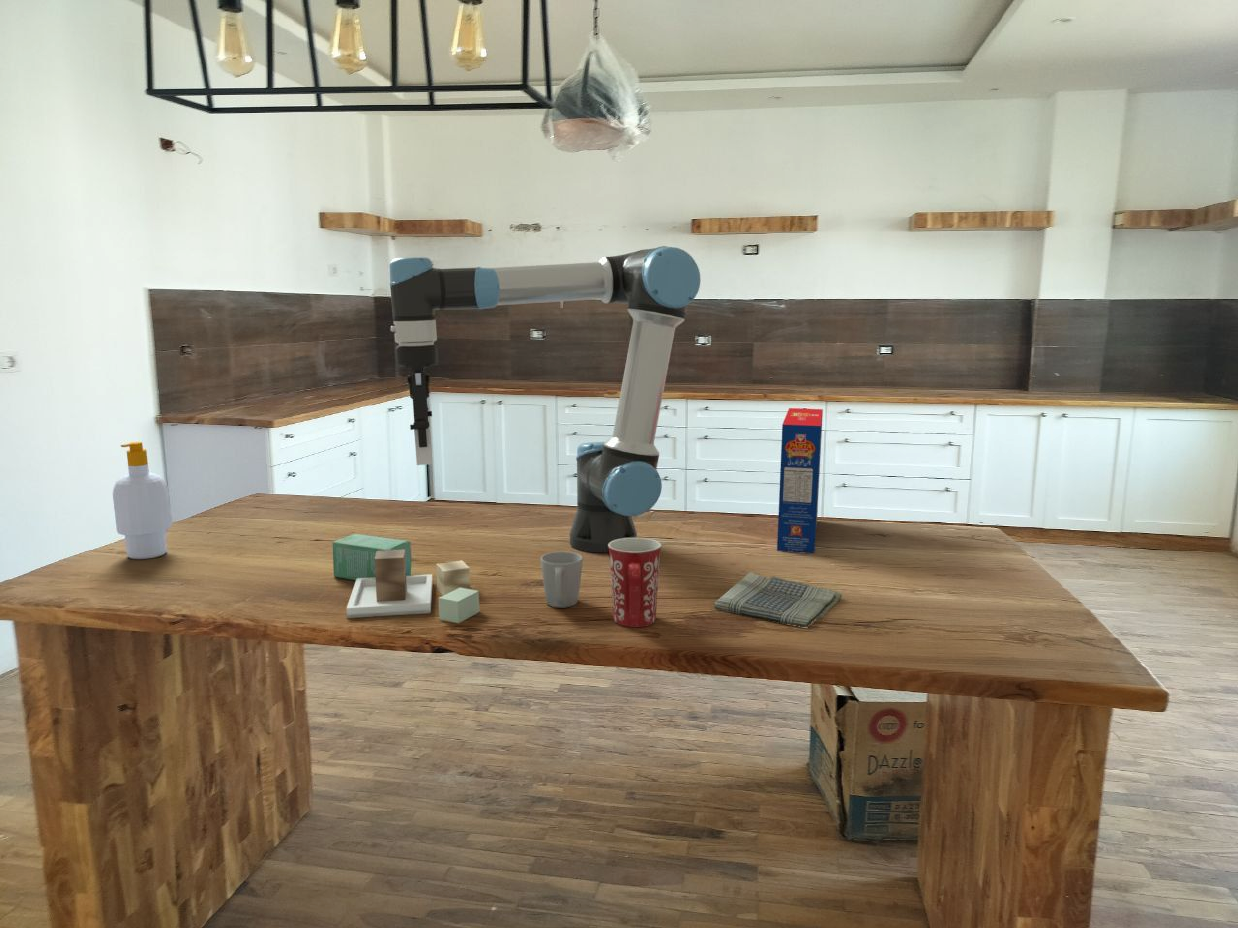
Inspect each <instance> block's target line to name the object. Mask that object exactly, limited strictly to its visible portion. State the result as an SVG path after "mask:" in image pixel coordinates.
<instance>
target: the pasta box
mask: <svg viewBox="0 0 1238 928" xmlns="http://www.w3.org/2000/svg"><path fill="white" fill-rule="evenodd" d="M823 413H824V410H823V409H822V408H797V407H795V408H794V407H793V408H792V407H789V408H788V410H787V412H786V415H785V417H784V419H783V422H782V424H781V425H782V427H781V447H780V450H781V451H780V467H779V468H780V470H779V471H780V472H779V492H778V493H779V494H778V495H779V496H778V518H777V522H778V523H777V539H776V542H777V543H776V544H777V545H776V551H777V552H787V551H793V552H792V553H800V552H805V554H815V553H816V552H815V550H816V537H817V525H818V513H819V510H818V509H819V492H820V491H819V490H820V489H819V488H820V475H821V474H820V473H821V470H820V469H821V455H822V454H821V451H822V436H823V435H822V434H823V433H822V432H823Z"/></svg>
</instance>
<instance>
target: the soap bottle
mask: <svg viewBox="0 0 1238 928" xmlns="http://www.w3.org/2000/svg"><path fill="white" fill-rule="evenodd" d="M120 447H121V448H128V447H129V449H128V450H126V458H127V468H128V474H125V475H123V476H122V477H120V478H118V479H117V481H115V483H114V486H113V489H112V500H113V509H114V510H113V511H114V517H115V526H116V528H115V529H116V532H117V534H118V535H121V536H124V539H125V550H126V551H125V552H126V555H127V557H128V558H130V559H132V560H147V559H153V558H154V559H155V558H157V557H160V556H163V555H165V553H167V552H168V544H167V533H166V532H167V531H168V530H169V529H171V528H172V527H173V525H172V524H173V521H172V512H171V504H170V492H169V487H168V485H167V483H166V482H165V480H164V478H163V477H161V475H159V474H157V473H154V472H150V471H149V463H148V455H147V454H148V453H147V449H145V448H144V447H143V442H142V441H134V442H133V441H132V442H129V443H125V444H120Z"/></svg>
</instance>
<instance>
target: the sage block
mask: <svg viewBox="0 0 1238 928" xmlns="http://www.w3.org/2000/svg"><path fill="white" fill-rule="evenodd" d="M479 592H480V591H479V590H476V589H471V588H470V589H466V588H458V589H456V590H454V591H452V592H450V593H448V594H446V595H444V596H443V595H442V596H440V597H438V613H439V620H440V621H447V622H451V623H456V624H460V623H462V622H463V621H465V620H467V619H469V618H471V617H473V616H475V615H476V614H478V613H479V612H480V593H479Z"/></svg>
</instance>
